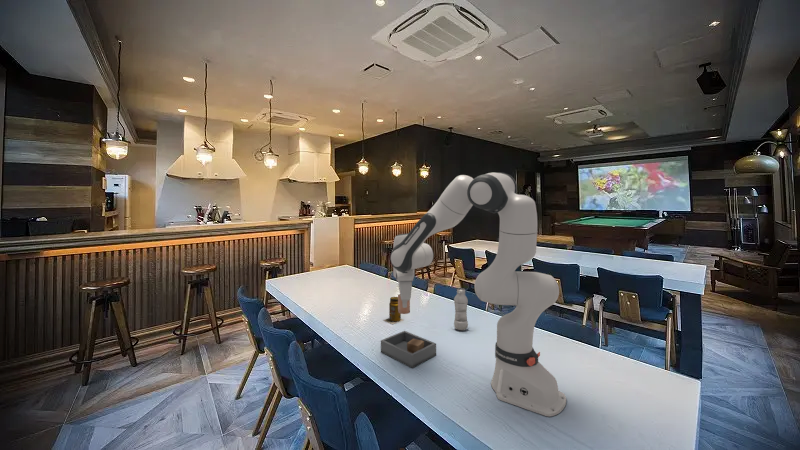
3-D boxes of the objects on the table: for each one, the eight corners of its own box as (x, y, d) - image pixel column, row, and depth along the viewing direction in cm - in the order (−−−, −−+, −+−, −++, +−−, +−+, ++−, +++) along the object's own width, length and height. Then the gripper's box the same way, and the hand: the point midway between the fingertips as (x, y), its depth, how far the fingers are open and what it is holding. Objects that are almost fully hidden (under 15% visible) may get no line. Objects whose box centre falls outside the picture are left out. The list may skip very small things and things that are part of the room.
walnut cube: (424, 353, 124) (424, 341, 124) (418, 358, 120) (418, 346, 119) (413, 350, 127) (413, 338, 126) (407, 355, 122) (407, 343, 122)
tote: (436, 355, 124) (436, 343, 124) (412, 368, 114) (412, 355, 114) (404, 341, 137) (404, 330, 137) (380, 352, 127) (380, 340, 127)
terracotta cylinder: (411, 313, 128) (411, 296, 127) (400, 314, 126) (400, 297, 125) (407, 309, 132) (406, 293, 132) (396, 310, 130) (396, 294, 130)
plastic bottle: (468, 332, 146) (468, 291, 145) (453, 331, 148) (453, 290, 146) (467, 327, 153) (468, 287, 151) (454, 326, 154) (454, 287, 153)
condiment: (404, 320, 163) (404, 298, 162) (392, 324, 157) (392, 301, 156) (394, 316, 168) (394, 295, 167) (383, 320, 162) (382, 298, 161)
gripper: (395, 267, 138) (395, 297, 139) (397, 277, 118) (397, 313, 119) (409, 267, 138) (409, 297, 139) (413, 277, 118) (414, 312, 119)
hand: (404, 304), depth 129 cm, fingers closed on terracotta cylinder, 5 cm apart
